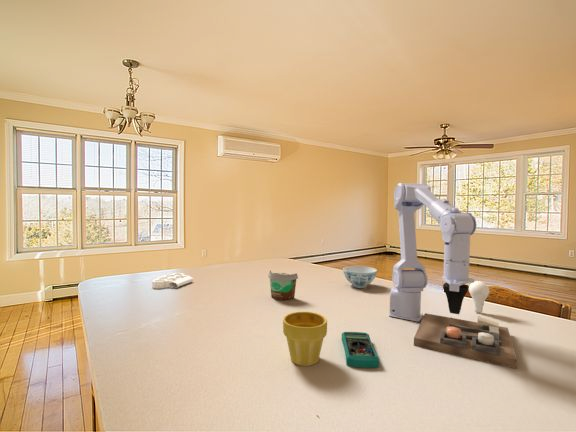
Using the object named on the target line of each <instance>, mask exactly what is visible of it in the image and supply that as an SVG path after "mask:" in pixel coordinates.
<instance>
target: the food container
mask: <svg viewBox="0 0 576 432" xmlns="http://www.w3.org/2000/svg"><path fill="white" fill-rule="evenodd" d="M267 277H268V279H269V285H270V295H271V297H270V298H272V299H273V300H275V301H290V300H293V299H295V294H296V284H297V279H299V276H298V273H297V272H296V273H291V274H288V273H285V272H272V270H269V271H268V276H267Z"/></svg>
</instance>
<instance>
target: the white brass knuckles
mask: <svg viewBox="0 0 576 432" xmlns="http://www.w3.org/2000/svg"><path fill="white" fill-rule="evenodd" d="M192 282H194V277H192V276H190V275H187V274H186V275H185V273H182V272H175V273H174V272H173V273H171V274H165V275H162V276H159V277H157V278H156V279H152V281H151V286H152V289H156V290H157V289H165V288H167V289H168V288H169V289H177V288H179V287H182V286H185V285H188V284H190V283H192Z"/></svg>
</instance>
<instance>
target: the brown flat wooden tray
mask: <svg viewBox="0 0 576 432" xmlns="http://www.w3.org/2000/svg"><path fill="white" fill-rule="evenodd" d="M449 326H451V327H457V328H459V329H460V330H461V337H460V338H451V337H448V336H447V335H446V332H447V327H449ZM480 332H484V333H489V326H486V325H483V326H480V325H477V321H471V320H467V319H466V320H465V319H460V318H455V317H454V318H453V317H450V316H449V317H448V316H442V315H439V314H437V315H436V314H432V313H427V312H424V313H423V316H422V318H421V320H420V323H419V325H418V328H417V330H416V332H415V335H414V337H413V346H416V347H421V348H424V349H429V350H434V351H438V352H441V353H446V354H450V355H455V356H460V357H463V358H469V359H473V360H477V361H478V360H479V361H482V362H487V363H490V364H495V365H499V366H502V367H504V366H505V367H508V368H512V369H517V366H518V358H517V355H516V351H515V348H514V345H513V340H512V339H511V337H512V336H511V334H510V331H509V328H508V327H505V326H500V325H499V340H494V342H493V345H485V344H482V343H480V342H478V333H480Z"/></svg>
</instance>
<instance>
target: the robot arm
mask: <svg viewBox="0 0 576 432" xmlns="http://www.w3.org/2000/svg"><path fill="white" fill-rule="evenodd" d="M431 187H432V186H430V185H429V184H428V183H403V182H399V183H397V185H396V186H395V189H394V191H393V204H394V209H395V210H396V211H397V212H398V213H397V214H398V228H399V245H400V260H399V261H397V262H396V263H395V264H394V265H393V268H392V269H393V270H392V275H391V276H392V277H391V279H392V284H393V286H394V287H391V290H390V295H389V315H388V316H389V317H392V318H398V319H402V320H408V321H413V322H420V323H421V321H422V319H423V317H424V313H423V312H421V307H422V306H421V303H422V302H421V301H422V292H424V289H425V288H427V285H428V281H429V280H428V275H427V271H426V266H425V265H424V264H423V263H422V262H420V261H419V260H418V249H417V236H416V235H417V234H416V223H415V221H416V220H415V219H416V218H415V213H416V212H417V211H418V210H421V209H422V208H423V207H424V206H425V207H426V208H427V209H428V214H429V215H430V217H432V218H433V219H434V220H435V221H436V222H437V223H438V224H439V230H440V232H441V237H442V242H444V247H443V272H442V273H443V275H442V277H441V279H442V280H443V281H444V282H446V283H442V289H443V291H444V293H445V295H446V299H447V305H448V311H449V313H450V314H455V315H460V313H461V311H462V305H463V301H464V298H465V296H466V294H467V293H468V292H469V285H468V284H471V283H474V282H475V279H474V278H472V277H471V278H470V255H471V254H470V253H471V252H470V251H471V247H470V246H471V236H473V235H474V233H475V232H476V230H477V220H476V218H475V216H474V215H473V214H472V213H471V212H461V210H460V209H459V208H458V207H456V206H454V205H452V203H450V200H449V199H447V198H440V199H439V198H438V197H437V196H436V195H435V194H434V193H433V192H432V190H431V189H432V188H431Z"/></svg>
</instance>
